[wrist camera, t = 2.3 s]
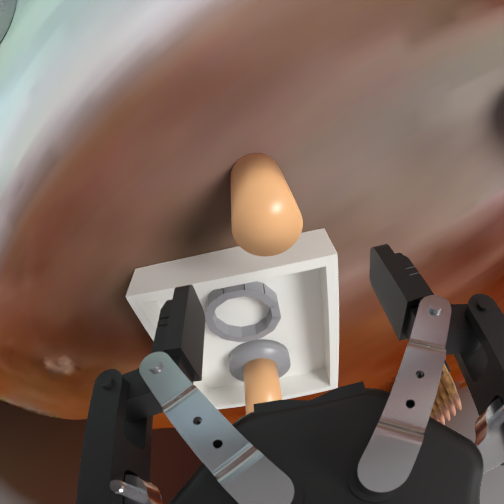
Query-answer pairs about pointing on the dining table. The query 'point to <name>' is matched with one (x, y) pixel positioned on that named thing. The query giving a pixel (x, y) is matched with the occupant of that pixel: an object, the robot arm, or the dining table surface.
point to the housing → (256, 318)
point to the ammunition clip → (445, 397)
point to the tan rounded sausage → (263, 207)
